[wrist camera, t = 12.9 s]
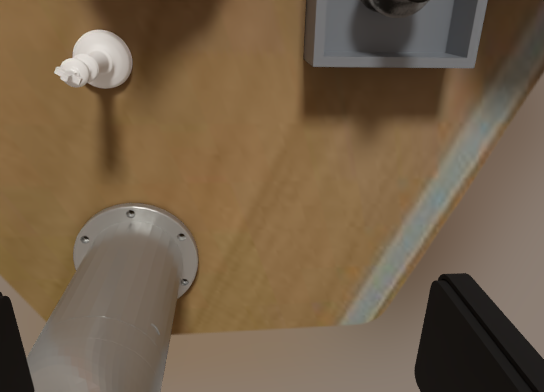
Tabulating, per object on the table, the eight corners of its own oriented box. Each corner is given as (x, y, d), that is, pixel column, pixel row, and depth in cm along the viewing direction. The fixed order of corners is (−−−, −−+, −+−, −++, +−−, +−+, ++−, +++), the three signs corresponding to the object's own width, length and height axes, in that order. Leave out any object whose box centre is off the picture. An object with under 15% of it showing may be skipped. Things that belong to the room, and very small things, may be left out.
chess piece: (85, 18, 37) (38, 24, 28) (141, 47, 38) (113, 61, 29) (66, 71, 39) (16, 93, 30) (120, 97, 40) (88, 126, 31)
